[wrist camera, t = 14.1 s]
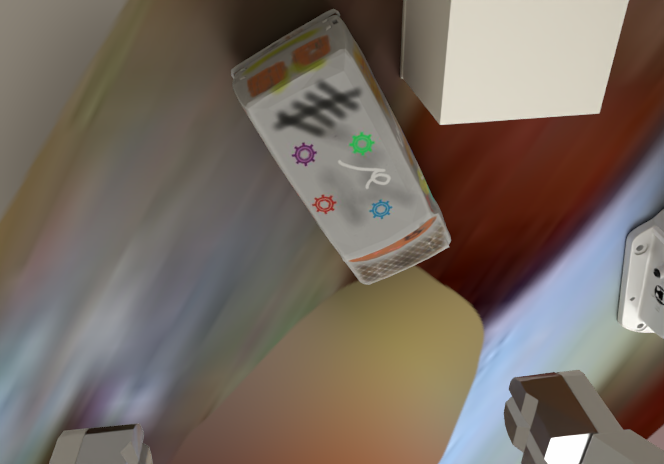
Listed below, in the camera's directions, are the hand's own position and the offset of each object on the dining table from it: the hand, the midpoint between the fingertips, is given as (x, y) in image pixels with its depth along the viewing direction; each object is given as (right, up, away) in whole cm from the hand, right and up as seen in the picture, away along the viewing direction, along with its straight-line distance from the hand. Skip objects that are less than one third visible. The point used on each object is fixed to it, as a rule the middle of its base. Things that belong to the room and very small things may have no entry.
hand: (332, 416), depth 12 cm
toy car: (+1, +12, +40) cm, 42 cm away
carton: (+12, +24, +33) cm, 43 cm away
